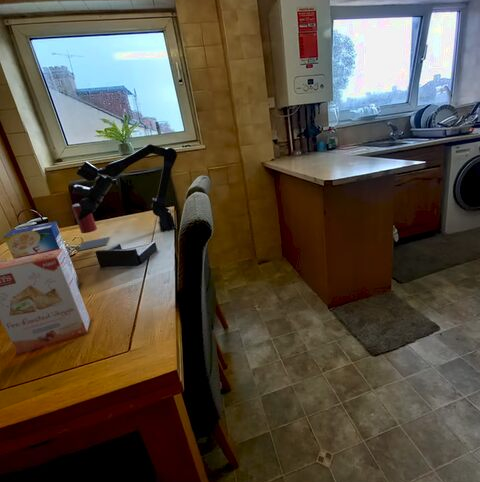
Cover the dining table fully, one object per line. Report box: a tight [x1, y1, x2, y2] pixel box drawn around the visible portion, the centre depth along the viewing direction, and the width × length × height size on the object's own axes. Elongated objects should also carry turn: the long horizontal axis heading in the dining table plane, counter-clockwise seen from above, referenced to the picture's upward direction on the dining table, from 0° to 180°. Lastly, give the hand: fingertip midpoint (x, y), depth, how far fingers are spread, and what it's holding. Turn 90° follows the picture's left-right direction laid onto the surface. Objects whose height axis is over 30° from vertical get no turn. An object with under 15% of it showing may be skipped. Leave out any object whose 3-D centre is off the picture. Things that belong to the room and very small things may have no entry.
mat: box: [77, 236, 110, 252], centre depth 127 cm, size 11×11×1 cm
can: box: [71, 202, 98, 234], centre depth 122 cm, size 6×6×12 cm
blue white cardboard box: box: [3, 220, 80, 287], centre depth 83 cm, size 7×11×22 cm, turn 116°
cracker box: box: [0, 249, 91, 355], centre depth 63 cm, size 14×6×21 cm, turn 114°
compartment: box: [94, 241, 158, 268], centre depth 105 cm, size 13×16×7 cm
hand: (80, 217), depth 122 cm, fingers closed on can, 6 cm apart
